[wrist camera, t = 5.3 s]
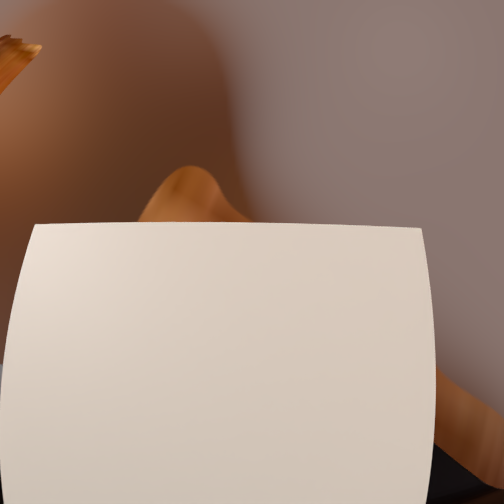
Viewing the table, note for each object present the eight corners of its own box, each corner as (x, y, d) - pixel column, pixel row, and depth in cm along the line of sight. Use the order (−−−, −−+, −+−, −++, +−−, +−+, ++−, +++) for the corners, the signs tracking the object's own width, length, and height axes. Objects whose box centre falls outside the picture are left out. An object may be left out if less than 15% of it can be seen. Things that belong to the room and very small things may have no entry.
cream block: (303, 447, 13) (392, 620, 1) (209, 441, 13) (12, 551, 2) (308, 357, 15) (420, 228, 3) (215, 353, 15) (34, 224, 3)
